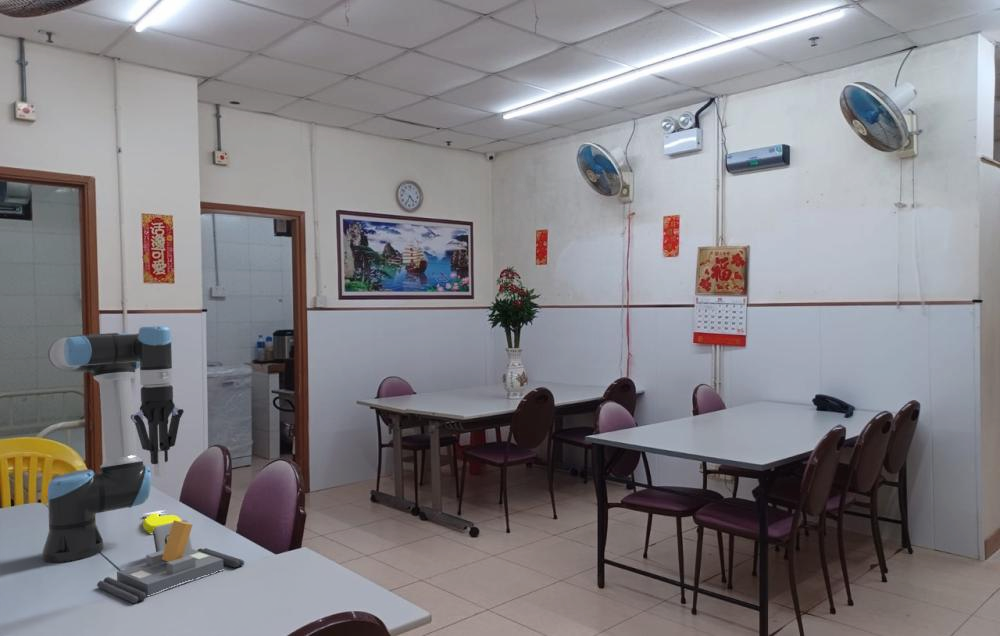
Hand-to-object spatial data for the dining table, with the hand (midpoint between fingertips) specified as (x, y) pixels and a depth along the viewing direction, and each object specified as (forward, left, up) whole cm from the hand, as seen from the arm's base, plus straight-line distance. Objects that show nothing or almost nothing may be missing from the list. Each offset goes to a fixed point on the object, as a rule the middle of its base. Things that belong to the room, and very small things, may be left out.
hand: (159, 475), depth 180 cm
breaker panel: (+1, +1, -27) cm, 27 cm away
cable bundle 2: (+1, +14, -27) cm, 30 cm away
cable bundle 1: (+1, -11, -27) cm, 29 cm away
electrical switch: (-16, +10, -27) cm, 33 cm away
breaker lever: (+1, +1, -23) cm, 23 cm away
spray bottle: (-50, +25, -27) cm, 63 cm away
